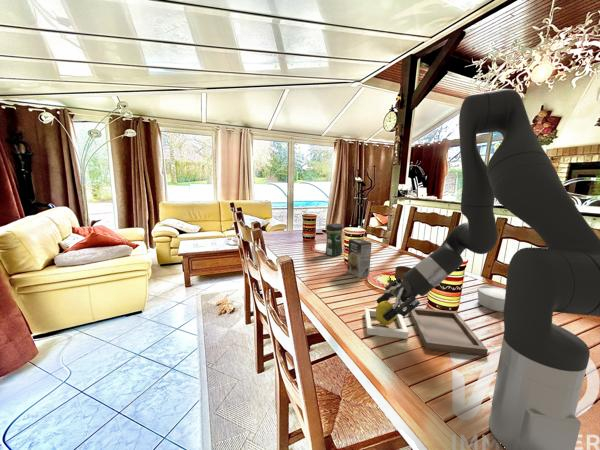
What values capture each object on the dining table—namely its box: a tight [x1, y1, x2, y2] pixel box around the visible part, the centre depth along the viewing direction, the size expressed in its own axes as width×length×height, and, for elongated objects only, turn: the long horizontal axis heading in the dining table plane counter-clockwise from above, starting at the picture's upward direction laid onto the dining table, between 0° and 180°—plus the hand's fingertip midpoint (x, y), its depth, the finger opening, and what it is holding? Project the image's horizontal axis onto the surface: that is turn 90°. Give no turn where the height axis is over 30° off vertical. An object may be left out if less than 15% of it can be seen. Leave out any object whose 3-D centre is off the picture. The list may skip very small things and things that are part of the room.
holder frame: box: [364, 307, 410, 340], centre depth 73 cm, size 11×11×2 cm
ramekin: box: [476, 285, 506, 313], centre depth 84 cm, size 11×11×5 cm
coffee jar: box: [325, 222, 343, 257], centre depth 142 cm, size 10×8×19 cm
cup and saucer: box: [388, 265, 413, 282], centre depth 104 cm, size 12×12×6 cm
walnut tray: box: [408, 307, 489, 357], centre depth 70 cm, size 18×14×2 cm
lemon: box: [375, 300, 396, 327], centre depth 72 cm, size 6×6×8 cm
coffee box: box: [347, 237, 372, 279], centre depth 112 cm, size 9×6×16 cm
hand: (381, 310), depth 72 cm, fingers open, 8 cm apart
